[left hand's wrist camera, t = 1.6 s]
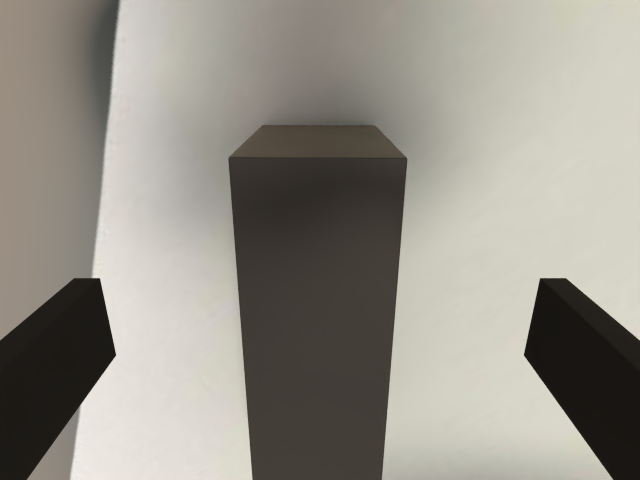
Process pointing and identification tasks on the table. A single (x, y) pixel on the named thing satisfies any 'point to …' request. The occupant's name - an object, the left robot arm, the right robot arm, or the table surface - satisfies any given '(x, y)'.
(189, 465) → the table surface
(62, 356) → the left robot arm
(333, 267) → the box
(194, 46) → the table surface
